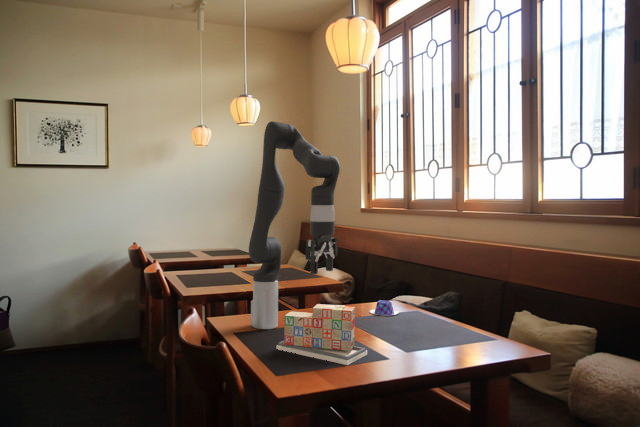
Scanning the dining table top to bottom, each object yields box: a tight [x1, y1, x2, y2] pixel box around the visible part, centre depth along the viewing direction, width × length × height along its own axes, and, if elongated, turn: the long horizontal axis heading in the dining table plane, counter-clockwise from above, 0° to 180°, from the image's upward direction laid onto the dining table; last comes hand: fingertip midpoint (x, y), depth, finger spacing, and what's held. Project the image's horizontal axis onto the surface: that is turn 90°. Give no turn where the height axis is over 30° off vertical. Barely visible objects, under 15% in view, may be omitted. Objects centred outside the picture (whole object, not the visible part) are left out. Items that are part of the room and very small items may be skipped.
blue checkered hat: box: [369, 299, 399, 317], centre depth 207 cm, size 12×12×5 cm
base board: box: [276, 340, 369, 366], centre depth 153 cm, size 26×12×2 cm, turn 56°
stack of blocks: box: [283, 303, 356, 351], centre depth 153 cm, size 21×6×12 cm, turn 76°
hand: (321, 272), depth 153 cm, fingers open, 8 cm apart
